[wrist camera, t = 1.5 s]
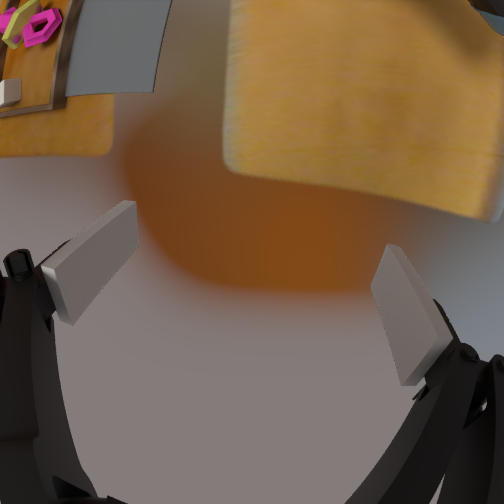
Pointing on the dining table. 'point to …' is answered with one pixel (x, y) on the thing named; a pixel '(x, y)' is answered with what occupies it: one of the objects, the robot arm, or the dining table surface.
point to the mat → (117, 46)
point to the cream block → (10, 92)
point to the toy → (28, 24)
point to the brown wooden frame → (60, 58)
